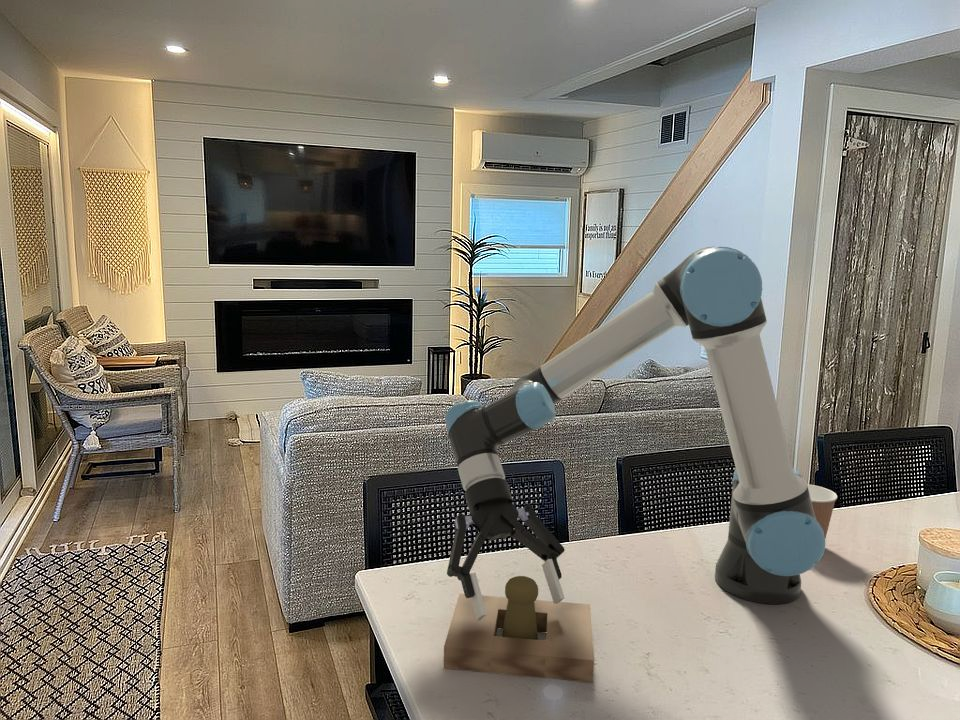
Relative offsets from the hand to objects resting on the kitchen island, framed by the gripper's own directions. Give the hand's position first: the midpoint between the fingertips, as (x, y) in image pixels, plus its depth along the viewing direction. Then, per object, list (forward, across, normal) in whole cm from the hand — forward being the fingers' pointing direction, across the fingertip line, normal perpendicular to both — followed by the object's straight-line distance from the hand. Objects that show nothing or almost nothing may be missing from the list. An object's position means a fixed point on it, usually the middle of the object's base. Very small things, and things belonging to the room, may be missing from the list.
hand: (521, 609), depth 111 cm
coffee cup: (-4, -74, -13) cm, 75 cm away
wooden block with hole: (+4, 0, -5) cm, 6 cm away
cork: (+4, 0, -5) cm, 6 cm away
